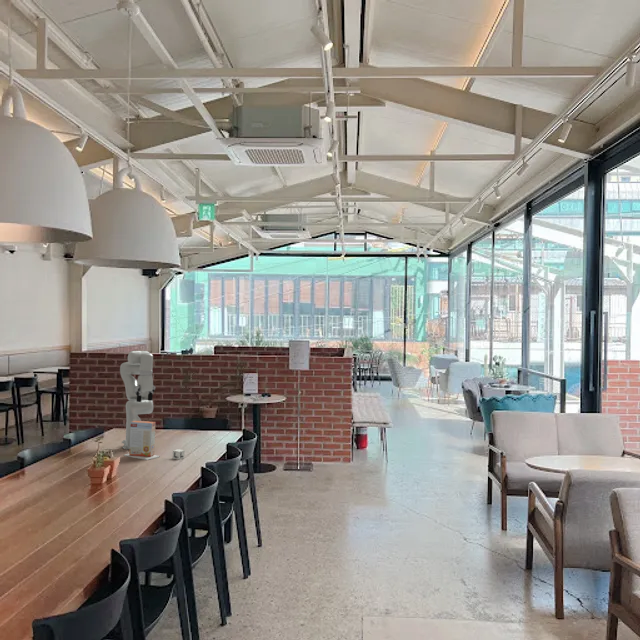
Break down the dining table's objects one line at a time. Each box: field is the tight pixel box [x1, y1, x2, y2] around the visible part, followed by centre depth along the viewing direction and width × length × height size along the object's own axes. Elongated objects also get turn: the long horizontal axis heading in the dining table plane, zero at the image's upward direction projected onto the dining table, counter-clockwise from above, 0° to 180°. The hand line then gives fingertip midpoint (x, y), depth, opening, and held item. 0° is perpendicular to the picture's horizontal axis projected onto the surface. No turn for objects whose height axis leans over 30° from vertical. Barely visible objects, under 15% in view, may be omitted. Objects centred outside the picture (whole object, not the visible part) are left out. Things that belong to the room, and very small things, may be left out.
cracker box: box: [128, 420, 156, 457], centre depth 368 cm, size 14×6×21 cm, turn 82°
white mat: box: [123, 453, 160, 461], centre depth 368 cm, size 19×11×1 cm, turn 63°
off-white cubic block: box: [172, 448, 185, 461], centre depth 367 cm, size 5×5×5 cm
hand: (144, 401), depth 368 cm, fingers open, 9 cm apart
